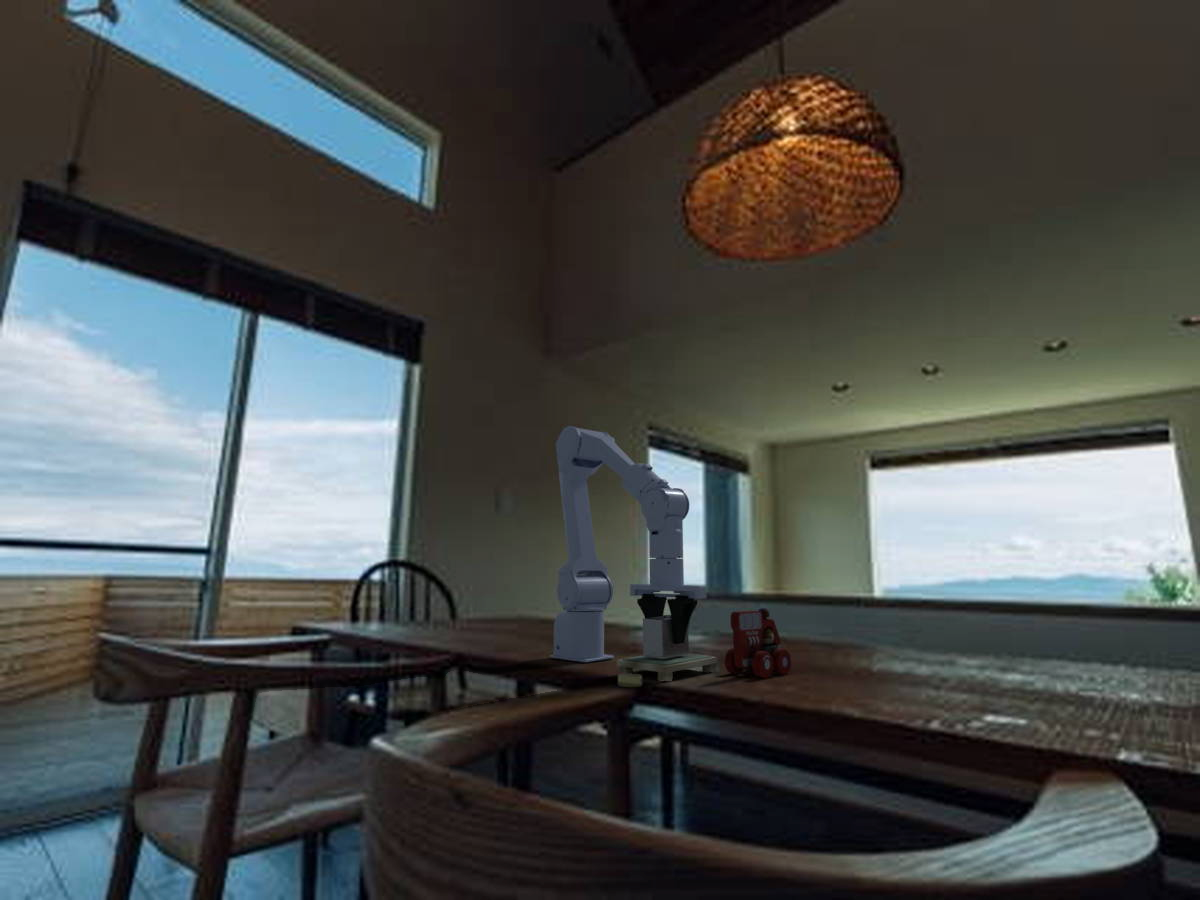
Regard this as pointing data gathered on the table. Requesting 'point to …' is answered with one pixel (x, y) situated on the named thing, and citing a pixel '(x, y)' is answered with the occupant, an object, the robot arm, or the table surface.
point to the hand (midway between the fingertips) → (667, 642)
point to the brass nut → (630, 680)
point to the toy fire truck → (756, 645)
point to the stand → (667, 664)
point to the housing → (661, 639)
